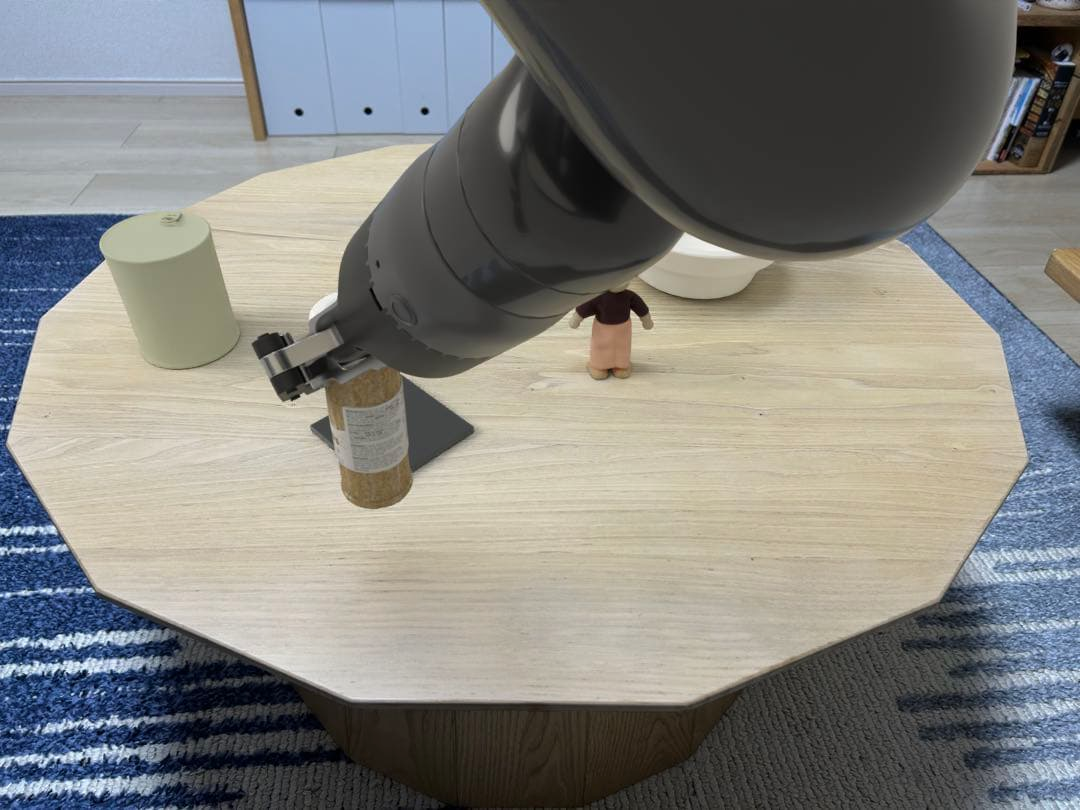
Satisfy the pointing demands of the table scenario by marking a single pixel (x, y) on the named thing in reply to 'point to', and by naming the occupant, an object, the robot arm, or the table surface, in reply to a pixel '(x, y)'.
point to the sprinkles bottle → (369, 433)
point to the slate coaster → (418, 426)
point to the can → (171, 287)
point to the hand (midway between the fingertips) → (343, 357)
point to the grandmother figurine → (612, 329)
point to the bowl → (702, 270)
